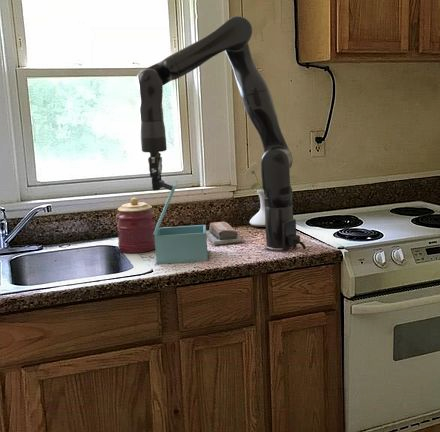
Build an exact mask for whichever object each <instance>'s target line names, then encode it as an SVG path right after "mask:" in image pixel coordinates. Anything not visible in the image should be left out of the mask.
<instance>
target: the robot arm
mask: <svg viewBox="0 0 440 432" xmlns="http://www.w3.org/2000/svg"><path fill="white" fill-rule="evenodd" d="M252 36H253V26H252V23H251V22H250V20H248V18H246V17H244V16H241V15H234V16H231V17H229V18H228V19H227V20H225V22H224V23H223V24H221V25H220V26H218V28H216V29H215V30H214V31H212V32H210V33H209V34H208V35H206V36H205V37H203V38H201V39H199V40H197V41H195V42H193V43H192V44H190V45H187V46H185V47H183V48H181V49H180V50H178V51H176V52H174V53H172V54H170V55H169V56H167V57H165V58H164V59H163V60H161V61H159V62H157V63H155V64H152V65H151V66H148V67H146V68H144V69H142V70H141V71H139V72H138V73H137V75H136V77H135V85H136V88H137V89H138V90H139V98H140V103H139V105H138V107H139V108H138V111H139V121H140V122H139V124H140V125H139V133H140V145H141V152H142V153H149V157H147V163H148V171H149V176H150V179H151V188H152V191H160V190H161V188H160V182H159V181H160V180H162V173H163V157H162V156H161V152H165V151H167V149H168V147H167V136H166V135H167V134H166V126H165V120H164V109H163V96H164V95H163V93H164V89H163V87H164V85H166V84H168V83H169V82H171V81H175V80H177V79H180V78H182V77H183V76H185V75H187V74H189V73H191V72H193V71H194V70H196V69H198V68H199V67H200V66H203V64H205V63H206V62H207V61H210V59H212V58H213V57H215V56H217V55H219V54H220V53H222V52H225V54H226V56H227V59H228V62H229V63H230V65H231V68H232V71H233V75H234V79H235V82H236V85H237V88H238V92H239V95H240V98H241V101H242V104H243V107H244V110H245V112H246V113H245V114H246V115H247V117H248V119H249V120H250V122H251V124H252V125H253V128H255V130H256V132H257V134H258V136H259V138H260V141H261V145H262V148H263V154H262V156H261V159H260V174H261V183H262V190H263V191H264V203H265V226H266V227H265V248H266V250H268V251H272V252H273V251H274V252H287V251H290V250H294V249H296V248H297V247H298V245H300V246H301V247H302V250H307V247H306V244H305V243H304V242H303V241H301V235H300V234H299V235H298V234H297V220H296V218H294V203H293V201H294V200H293V187H292V184H291V174H290V173H291V171H290V170H291V168H292V165H293V155H292V153H291V150H290V148H289V146H288V144H287V142H286V139H285V136H284V135H283V132H282V130H281V126H280V123H279V119H278V115H277V111H276V108H275V104H274V101H273V98H272V95H271V92H270V89H269V86H268V84H267V81H266V79H265V78H264V76H263V74H262V73H261V72H260V70H259V69H258V67H257V65H256V64H255V61H254V58H253V56H252V52H251V49H250V45H249V42H250V41H251V39H252Z"/></svg>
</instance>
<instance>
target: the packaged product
mask: <svg viewBox="0 0 440 432" xmlns="http://www.w3.org/2000/svg"><path fill="white" fill-rule="evenodd" d="M238 234H239V233H238V231H237V230H235V228H233V226H231V225H230V224H229V223H228V222H226V221H215V222H210V223H209V230H206V236H207V238H208V240H209V241H210V242H211V243H212V244H213V245H214V246H219V245H227V244H237V243H243V239H242V238H241V237H240V236H239V235H238Z"/></svg>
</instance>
